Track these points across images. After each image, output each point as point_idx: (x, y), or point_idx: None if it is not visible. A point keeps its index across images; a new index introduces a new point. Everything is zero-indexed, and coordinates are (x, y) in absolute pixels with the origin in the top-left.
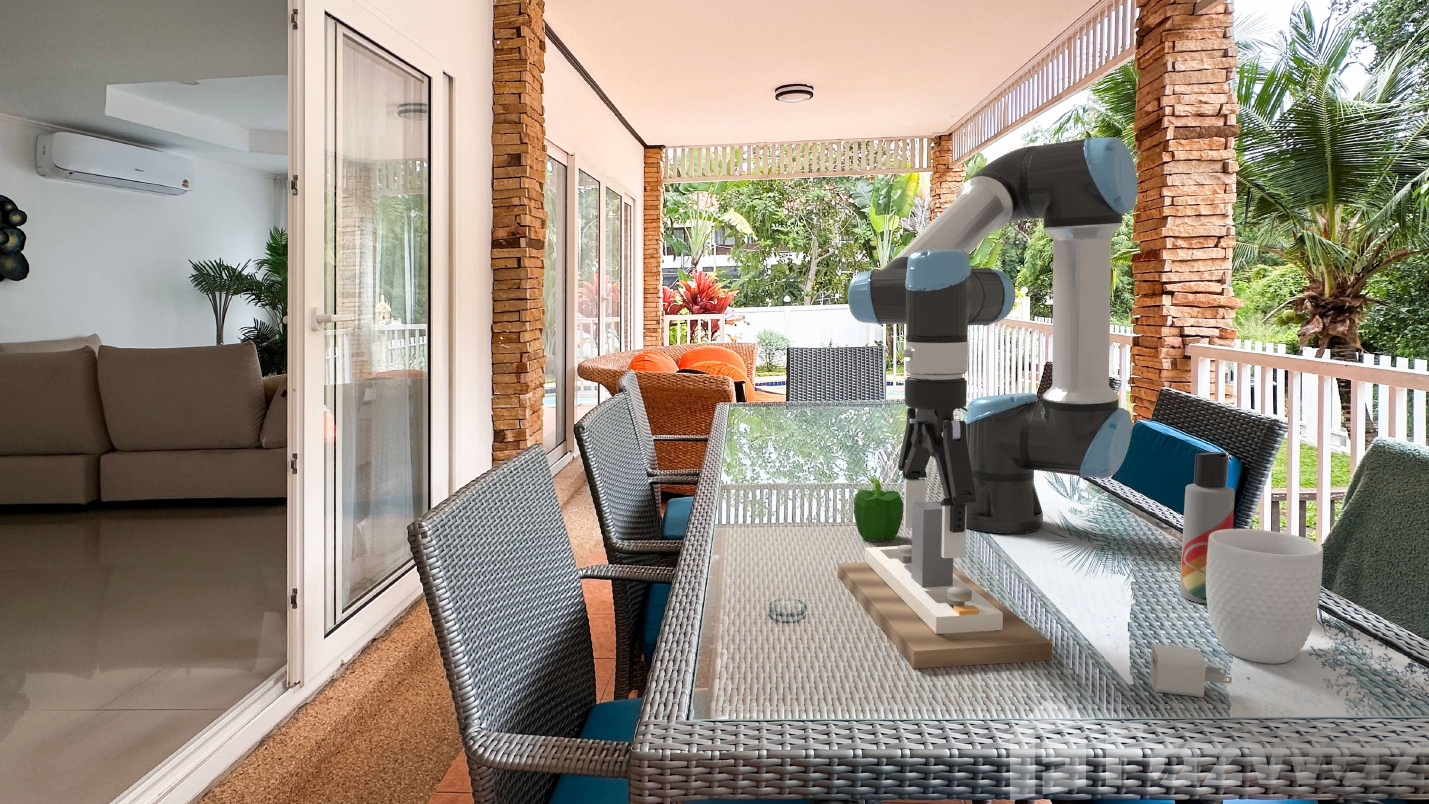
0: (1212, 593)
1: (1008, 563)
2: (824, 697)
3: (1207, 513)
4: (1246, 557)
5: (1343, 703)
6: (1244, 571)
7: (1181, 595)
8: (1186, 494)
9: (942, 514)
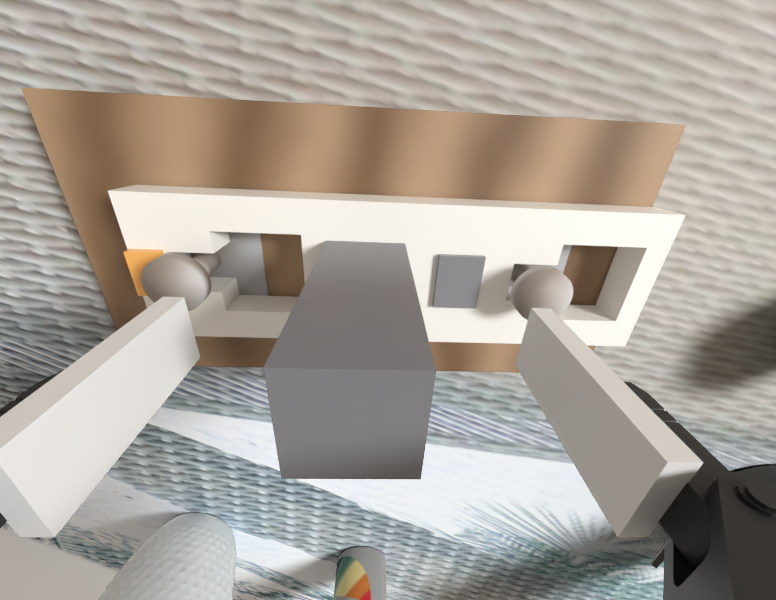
0: (153, 586)
1: (557, 453)
2: None
3: None
4: None
5: (78, 526)
6: None
7: (368, 548)
8: None
9: (51, 402)
